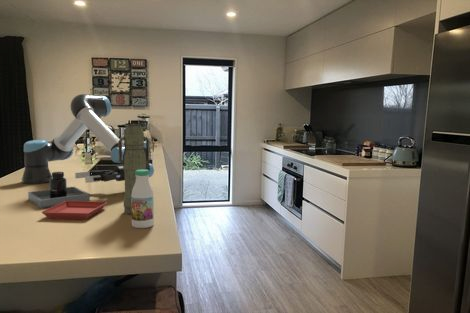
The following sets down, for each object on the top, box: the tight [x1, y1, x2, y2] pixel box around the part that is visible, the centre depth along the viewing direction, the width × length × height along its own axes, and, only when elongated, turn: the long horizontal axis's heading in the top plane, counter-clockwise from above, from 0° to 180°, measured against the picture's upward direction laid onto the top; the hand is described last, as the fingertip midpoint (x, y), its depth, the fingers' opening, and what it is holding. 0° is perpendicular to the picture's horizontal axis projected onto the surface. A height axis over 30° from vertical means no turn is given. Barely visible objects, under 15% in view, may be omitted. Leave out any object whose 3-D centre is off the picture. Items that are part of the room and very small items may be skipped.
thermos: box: [118, 124, 151, 216], centre depth 142 cm, size 9×12×35 cm
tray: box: [27, 186, 91, 210], centre depth 159 cm, size 20×20×4 cm
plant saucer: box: [41, 201, 108, 220], centre depth 140 cm, size 18×18×3 cm
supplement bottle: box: [49, 171, 68, 199], centre depth 159 cm, size 7×7×12 cm
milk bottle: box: [131, 169, 155, 229], centre depth 125 cm, size 8×8×20 cm
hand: (80, 177), depth 165 cm, fingers open, 13 cm apart
